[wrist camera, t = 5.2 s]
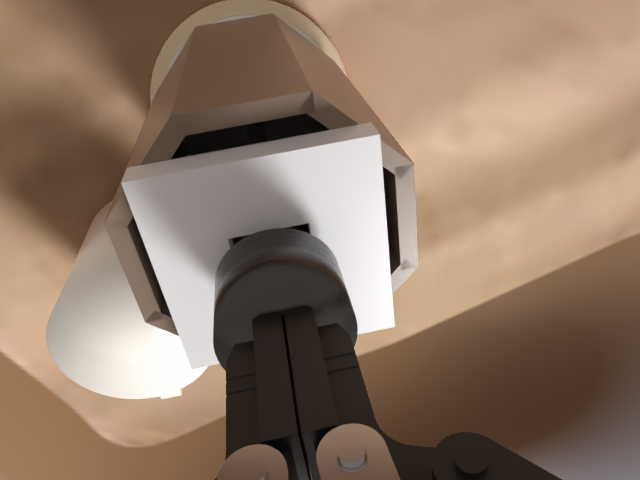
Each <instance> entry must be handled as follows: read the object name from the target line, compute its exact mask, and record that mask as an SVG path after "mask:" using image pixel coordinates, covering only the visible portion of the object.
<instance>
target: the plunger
mask: <svg viewBox="0 0 640 480" xmlns="http://www.w3.org/2000/svg"><path fill="white" fill-rule="evenodd" d="M246 135H247V145H252V144H257V143H262V142H268V141H269V140H268V135H267V130H266V125H265V121H263V122H257V123H252V124H246ZM307 307H312V308H313V312H314V316H315V321H316V325H317V327H319V326H324V325H329V324H333V323H338V324H339V325H340V326H341V327H342V328H343V329H344V330H345V331H346V332H347V333H348V334H349V335H350V337H351V340H352V344H353V347H354V346H355V343H356V339H357V333H358V326H357V320H356V316H355V313H354V310H353V307H352V304H351V301H350V298H349V295H348V292H347V289H346V286H345V283H344V279H343V276H342V273H341V270H340V267H339V264H338V262H337V259H336V257H335V255H334V254H333V252H332V251H331V249H330V248H329V247H328V246H327V245H326V244H325V243H324V242H323V241H321V240H320V239H318V238H317V237H315V236H313V235H311V234H309V233H306V232H303V231H300V230H295V229H288V228H275V229H268V230H263V231H259V232H256V233H254V234H251V235H249V236H247V237H245V238H243V239H242V240H240V241H239V242H237V243H236V244H235V245H234V246H232V247H231V248H230V249H229V250H228V251H227V253H226V254H225V255H224V256H223V258H222V260H221V261H220V263H219V266H218V268H217V271H216V275H215V291H214V325H213V347H214V351H215V355H216V357H217V359H218V361H219V363H220V364H221V366H222V367H223V368H224V369H225V370H226V361H227V359H228V357H229V355H230V353H231V351H232V349H233V347H234V345H235V344H238V343H243V342H248V341H253V327H252V319H254V318H259V317H264V316H269V315H274V314H279V313H281V314H282V317H283V322H284V326H285V330H286V325H285V318H284V312H288V311H293V310H297V309H302V308H307ZM286 335H287V331H286ZM287 339H288V338H287Z"/></svg>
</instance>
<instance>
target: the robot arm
mask: <svg viewBox="0 0 640 480" xmlns="http://www.w3.org/2000/svg"><path fill="white" fill-rule="evenodd" d="M284 318H285V325H286V330H285V326H284V322H283V317H282V314H281V313H279V314H274V315H269V316H264V317H259V318H254V319H252V327H253V341H248V342H243V343H238V344H235V345H234V347H233V349H232V351H231V353H230V355H229V357H228V359H227V361H226V381H227V383H226V395H227V397H226V458H225V462H224V463H223V464H222V466H221V468H220V470H219V472H218V474H217V477H216V479H215V480H311V474H312V478H313V480H561V479H560V478H558V477H556V476H554V475H553V474H551V473H549V472H547V471H546V470H544V469H542V468H540V467H538V466H537V465H535V464H533V463H532V462H530V461H528V460H526V459H524V458H523V457H521V456H519V455H518V454H516V453H514V452H512V451H510V450H508V449H507V448H505V447H503V446H502V445H500V444H498V443H496V442H495V441H493V440H491V439H489V438H487V437H485V436H483V435H480V434H477V433H471V432H461V433H456V434H452V435H450V436H447V437H446V438H444V439H443V440H442V441H441V442H440V443H439V444H438V445H437V447H436V448H432V447H419V446H411V445H406V444H402V443H399V442H397V441H395V440H393V439H392V438H390V437H388V436H387V435H386V434H385V433H384V432H383V431H382V430H381V429H380V427H379V426H378V424H377V422H376V420H375V417H374V413H373V410H372V407H371V403H370V400H369V397H368V394H367V390H366V387H365V384H364V380H363V377H362V374H361V370H360V368H359V364H358V361H357V357H356V354H355V350H354V347H353V344H352V340H351V337H350V335H349V334H348V333H347V332H346V331H345V330H344V329H343V328H342V327H341V326H340V325H339V324H338V323H333V324H329V325H324V326H319V327H317V325H316V321H315V316H314V312H313V308H312V307H307V308H302V309H297V310H293V311H288V312H284ZM286 331H287V335H286ZM287 338H288V339H287ZM309 466H310V467H309ZM310 470H311V474H310Z"/></svg>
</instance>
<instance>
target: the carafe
mask: <svg viewBox="0 0 640 480" xmlns="http://www.w3.org/2000/svg"><path fill="white" fill-rule="evenodd" d="M150 104H151V107H150V109H149V112H148V114H147V117H146V119H145V122H144V124H143V127H142V129H141V132H140V134H139V136H138V139H137V141H136V144H135V146H134V149H133V151H132V154H131V156H130V159H129V161H128V164H127V166H126V169H125V171H124V174H123V176H122V179H121V181H120V184H119V186H118V189H117V191H116V194H115V196H114V199H113V201H112V204H111V206H110V209H109V211H108V214H107V216H106V219H105V221H104V225H105V228H106V230H107V232H108V235H109V237H110V240H111V242H112V244H113V247H114V249H115V251H116V254H117V256H118V259H119V261H120V263H121V266H122V268H123V271H124V273H125V275H126V278H127V280H128V282H129V285H130V287H131V290H132V292H133V294H134V297H135V299H136V302H137V304H138V306H139V309H140V311H141V313H142V316H143V318H144V321H145V323H148V324H150V325H153V326H155V327H157V328H160V329H162V330H165V331H167V332H169V333H172V334H174V335H177V336H179V337H180V340H181V342H182V345H183V348H184V350H185V353H186V355H187V358H188V361H189V363H190V366H191V369H196V368H201V367H205V366H210V365H215V364H220V363H219V361H218V359H217V357H216V355H215V351H214V347H213V325H214V291H215V275H216V271H217V268H218V266H219V263H220V261H221V260H222V258H223V256H224V255H225V254H226V253H227V251H228V250H229V249H230V248H231V247H232V246H234V245H235V244H236V243H237V242H239V241H240V240H242V239H243V238H245V237H247V236H249V235H251V234H254V233H256V232H259V231H263V230H268V229H275V228H288V229H295V230H300V231H303V232H306V233H309V234H311V235H313V236H315V237H317V238H318V239H320V240H321V241H323V242H324V243H325V244H326V245H327V246H328V247H329V248H330V249H331V251H332V252H333V254H334V255H335V257H336V259H337V262H338V264H339V267H340V270H341V273H342V276H343V279H344V283H345V286H346V289H347V292H348V295H349V298H350V301H351V304H352V307H353V310H354V313H355V316H356V320H357V326H358V333H357V335H358V334H362V333H367V332H372V331H377V330H381V329H386V328H391V327H395V325H394V311H393V298H392V294H393V293H394V292H395V291H396V290H397V289H398V288H399V287H400V286H401V285H402V283H403V282H404V281H405V280H406V279H407V278H408V277H409V276H410V275H411V274H412V273H413V272H414V271H415V270H416V268H417V267H418V255H417V230H416V205H415V180H414V163H413V162H412V161H411V159H410V158H409V157H408V156H407V154H406V153H405V152H404V150H403V149H402V148H401V146H400V145H399V144H398V143H397V141H396V140H395V139H394V137H393V136H392V135H391V134H390V132H389V131H388V130H387V128H386V127H385V126H384V124H383V123H382V122H381V121H380V119H379V118H378V117H377V115H376V114H375V113H374V112H373V110H372V109H371V108H370V106H369V105H368V104H367V103H366V101H365V100H364V99H363V97H362V96H361V95H360V93H359V92H358V91H357V90H356V88H355V87H354V86H353V84H352V83H351V82H350V81H349V79H348V78H347V76H346V73H345V69H344V66H343V63H342V61H341V59H340V57H339V55H338V53H337V51H336V49H335V48H334V46H333V45H332V43H331V41H330V40H329V39H328V38H327V37H326V35H325V34H324V33H323V32H322V31H321V29H320V28H319V27H317V26H316V25H315V24H314V23H313V22H312V21H311V20H310V19H308V18H307V17H305V16H304V15H303V14H301V13H300V12H298V11H296V10H294V9H292V8H290V7H288V6H286V5H284V4H281V3H278V2H275V1H271V0H223V1H219V2H216V3H213V4H211V5H208V6H206V7H204V8H202V9H200V10H198V11H197V12H195V13H193V14H192V15H190V16H189V17H188V18H187V19H185V20H184V21H183V22H182V23H181V24H180V25H179V26H178V27H177V28H176V29H175V30H174V31H173V32H172V33H171V35H170V36H169V38H168V39H167V41H166V42H165V44H164V45H163V47H162V49H161V51H160V54H159V56H158V58H157V60H156V63H155V66H154V69H153V73H152V78H151V84H150ZM263 121H265V125H266V130H267V135H268V140H269V141H268V142H262V143H257V144H252V145H247V135H246V124H252V123H257V122H263Z"/></svg>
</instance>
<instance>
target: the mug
mask: <svg viewBox="0 0 640 480" xmlns="http://www.w3.org/2000/svg"><path fill="white" fill-rule="evenodd" d="M112 201H113V200H112ZM112 201H110V202H109V203H108V204H106V205H105V206H104V207H103V208H102V209H101V210H100V211H99V212H98V213H97V215H96V216H95V217H94V219H93V221H92V223H91V225H90V228H89V230H88V232H87V235H86V237H85V239H84V241H83V244H82V246H81V248H80V250H79V253H78V255H77V257H76V259H75V262H74V264H73V266H72V268H71V271H70V273H69V275H68V277H67V280H66V282H65V284H64V287H63V289H62V291H61V293H60V296H59V298H58V300H57V302H56V305H55V307H54V309H53V311H52V314H51V316H50V318H49V321H48V325H47V331H46V340H47V346H48V349H49V352H50V354H51V357H52V359H53V360H54V362H55V363H56V365H57V366H58V367H59V368H60V370H61V371H62V372H63V373H64V374H65V375H67V376H68V377H69V378H70V379H71V380H73V381H74V382H76V383H77V384H79V385H81V386H83V387H85V388H87V389H89V390H91V391H94V392H96V393H99V394H103V395H106V396H111V397H116V398H125V399H144V398H153V397H158V396H160V397H161V399H165V398H170V397H175V396H179V395H182V388H183V387H185V386H187V385H188V384H190V383H192V382H193V381H194V380H195V379H197V378H198V377H199V376H200V375H201V374H202V373H203V372H204V371H205V369H206V368H207V367H208V366H205V367H201V368H196V369H191V366H190V363H189V361H188V358H187V355H186V353H185V350H184V348H183V345H182V342H181V340H180V337H179V336H177V335H174V334H172V333H169V332H167V331H165V330H162V329H160V328H157V327H155V326H153V325H150V324H148V323H145V321H144V318H143V316H142V313H141V311H140V309H139V306H138V304H137V302H136V299H135V297H134V294H133V292H132V290H131V287H130V285H129V282H128V280H127V278H126V275H125V273H124V271H123V268H122V266H121V263H120V261H119V259H118V256H117V254H116V251H115V249H114V247H113V244H112V242H111V240H110V237H109V235H108V232H107V230H106V228H105V225H104V221H105V219H106V216H107V214H108V211H109V209H110V206H111V204H112Z"/></svg>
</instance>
